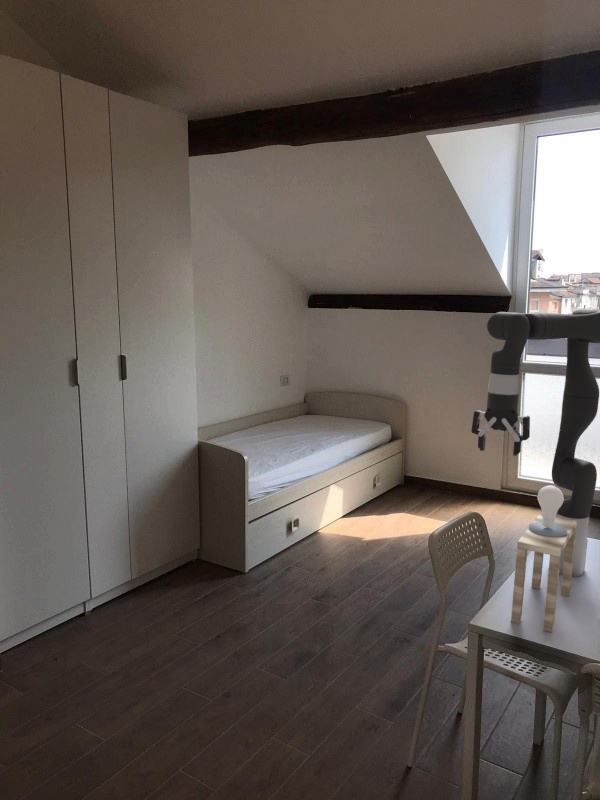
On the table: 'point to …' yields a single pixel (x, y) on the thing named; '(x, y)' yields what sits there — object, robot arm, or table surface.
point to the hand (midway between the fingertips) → (498, 452)
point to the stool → (542, 543)
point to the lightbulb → (550, 503)
